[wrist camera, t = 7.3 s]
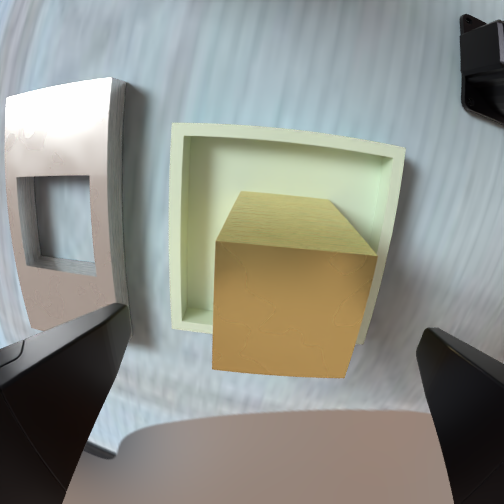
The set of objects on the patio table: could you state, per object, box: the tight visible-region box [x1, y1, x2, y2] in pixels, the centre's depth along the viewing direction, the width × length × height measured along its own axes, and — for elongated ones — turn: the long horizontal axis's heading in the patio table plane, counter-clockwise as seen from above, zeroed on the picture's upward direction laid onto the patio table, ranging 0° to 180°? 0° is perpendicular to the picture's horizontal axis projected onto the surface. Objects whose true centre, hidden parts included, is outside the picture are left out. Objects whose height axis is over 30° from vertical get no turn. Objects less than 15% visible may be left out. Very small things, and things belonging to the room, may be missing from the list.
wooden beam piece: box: [212, 191, 378, 378], centre depth 13 cm, size 4×4×8 cm
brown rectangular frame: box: [5, 77, 133, 342], centre depth 17 cm, size 8×16×2 cm, turn 175°
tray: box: [169, 123, 406, 344], centre depth 16 cm, size 11×11×2 cm
